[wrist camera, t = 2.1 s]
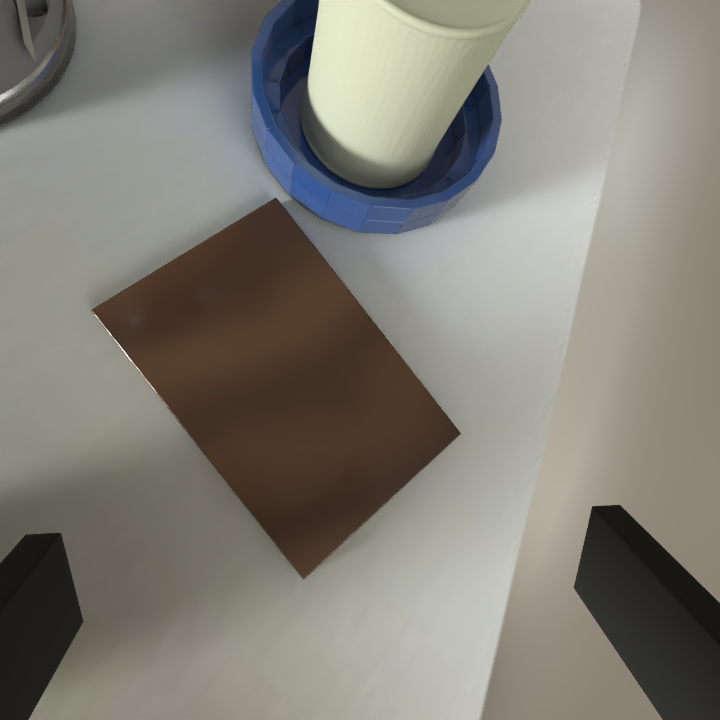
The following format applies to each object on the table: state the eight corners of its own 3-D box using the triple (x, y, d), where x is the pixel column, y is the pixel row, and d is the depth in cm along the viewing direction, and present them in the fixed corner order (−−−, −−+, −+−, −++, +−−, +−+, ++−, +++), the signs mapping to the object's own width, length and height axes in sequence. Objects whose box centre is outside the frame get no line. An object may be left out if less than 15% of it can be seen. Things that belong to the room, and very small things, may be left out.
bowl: (201, 86, 27) (193, 35, 24) (383, -4, 31) (398, -58, 28) (353, 280, 27) (366, 257, 24) (513, 165, 32) (545, 131, 28)
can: (379, 42, 30) (455, -198, 19) (461, 149, 30) (586, -26, 19) (270, 99, 28) (280, -139, 16) (360, 215, 28) (433, 60, 16)
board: (95, 313, 24) (90, 309, 23) (275, 203, 27) (276, 196, 26) (302, 575, 24) (303, 580, 23) (455, 433, 27) (461, 433, 26)
